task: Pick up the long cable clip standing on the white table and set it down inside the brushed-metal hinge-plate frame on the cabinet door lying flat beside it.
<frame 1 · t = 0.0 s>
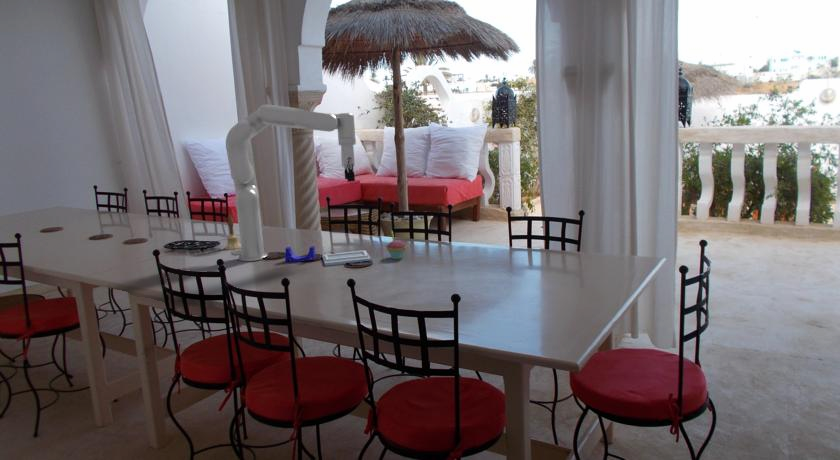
hand: (349, 180, 286), 31 cm above the table, tool pointing down, fingers open, 9 cm apart
hand bell: (233, 248, 307), on the table
cable clip: (300, 261, 275), on the table
door panel: (346, 259, 273), on the table
cupcake: (397, 257, 272), on the table
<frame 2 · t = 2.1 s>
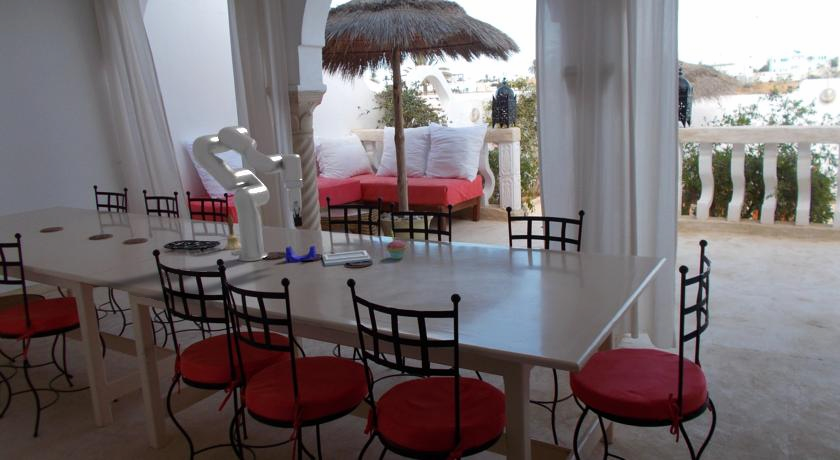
hand: (298, 224, 271), 16 cm above the table, tool pointing down, fingers open, 9 cm apart
nothing on the table moved.
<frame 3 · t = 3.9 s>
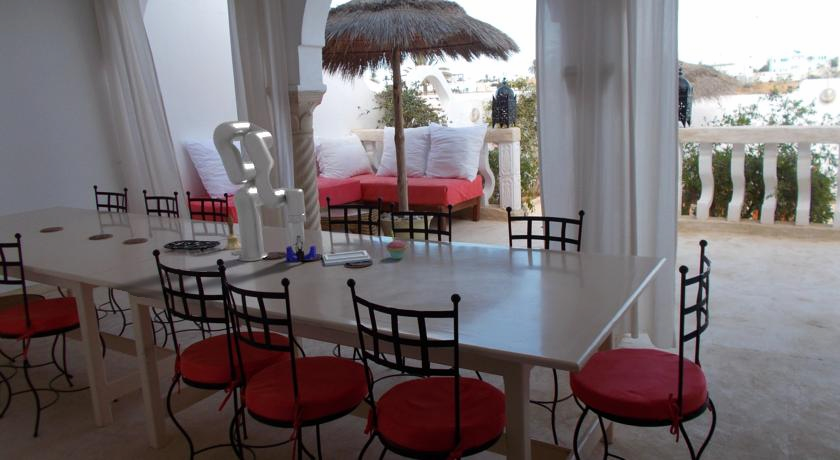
hand: (300, 257, 274), 1 cm above the table, tool pointing down, fingers open, 9 cm apart
cable clip: (301, 261, 276), on the table, touching gripper
everything else where it was.
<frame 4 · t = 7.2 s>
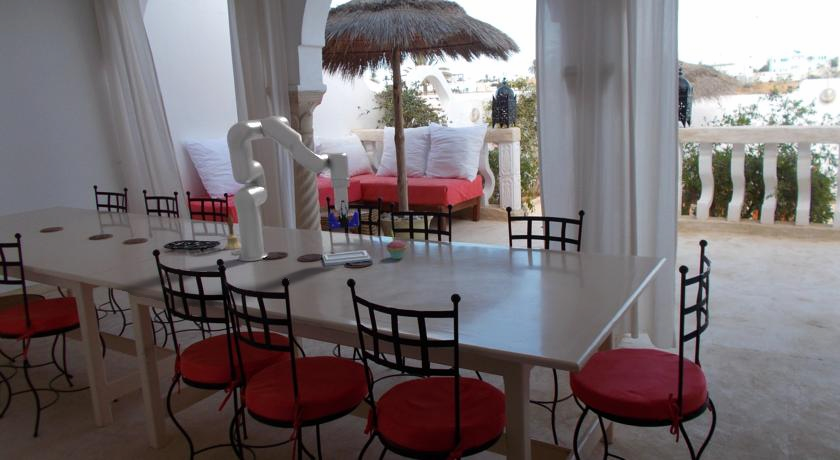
hand: (343, 225, 270), 15 cm above the table, tool pointing down, fingers closed on cable clip, 5 cm apart
cable clip: (344, 227, 270), point 14 cm above the table, touching gripper
everything else where it was.
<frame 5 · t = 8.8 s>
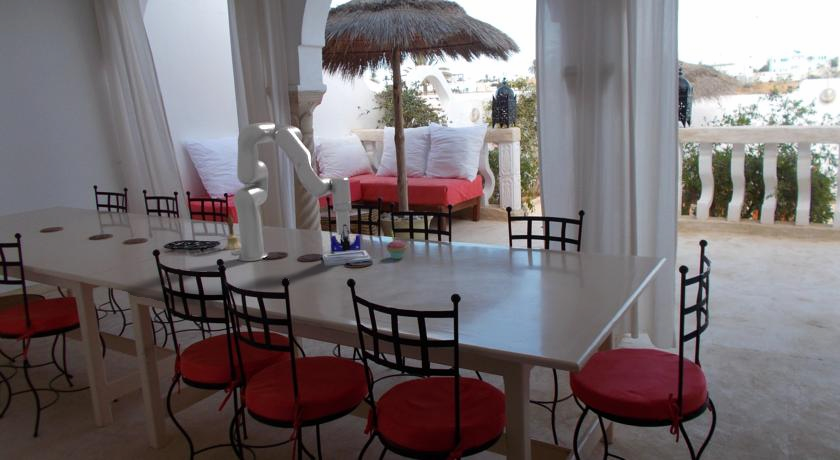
hand: (345, 248, 272), 5 cm above the table, tool pointing down, fingers closed on cable clip, 5 cm apart
cable clip: (346, 250, 272), point 4 cm above the table, touching gripper
everything else where it was.
when the fingers open (3 cm above the table, at t = 10.0 s): cable clip stays where it is, resting on door panel.
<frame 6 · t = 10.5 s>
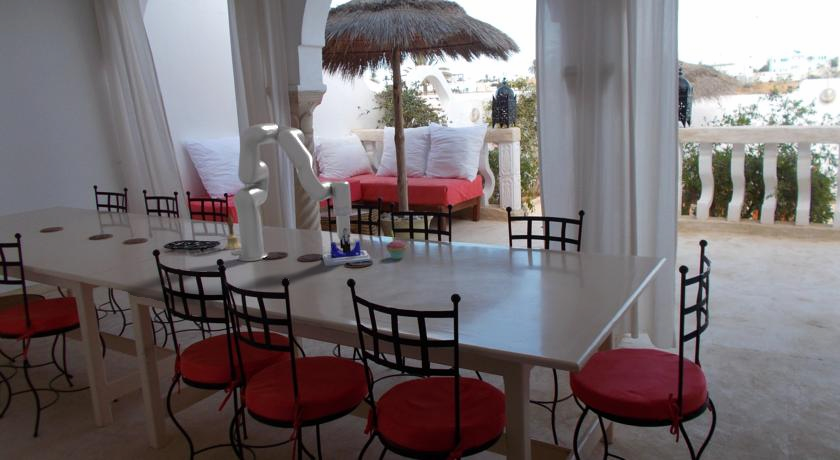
hand: (345, 250, 273), 4 cm above the table, tool pointing down, fingers open, 9 cm apart
cable clip: (346, 256, 273), point 1 cm above the table, touching door panel
everything else where it was.
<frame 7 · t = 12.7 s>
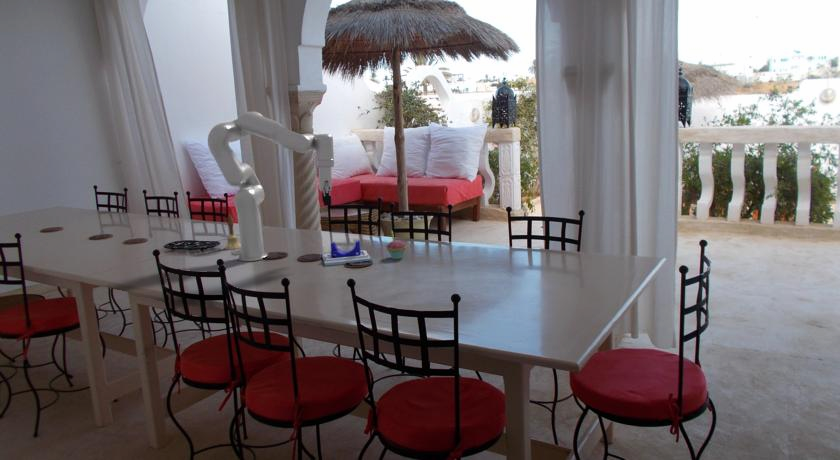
hand: (326, 203, 275), 23 cm above the table, tool pointing down, fingers open, 9 cm apart
nothing on the table moved.
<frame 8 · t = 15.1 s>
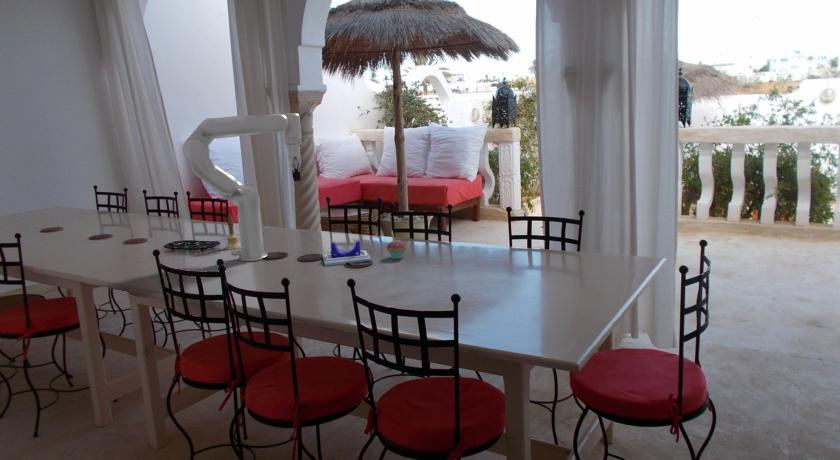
hand: (296, 179, 289), 32 cm above the table, tool pointing down, fingers open, 9 cm apart
nothing on the table moved.
at the end: cable clip 0.1 cm off-centre on the door panel, point 1.0 cm above the door panel's base; cable clip tilted 0°; the gripper is holding nothing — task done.
